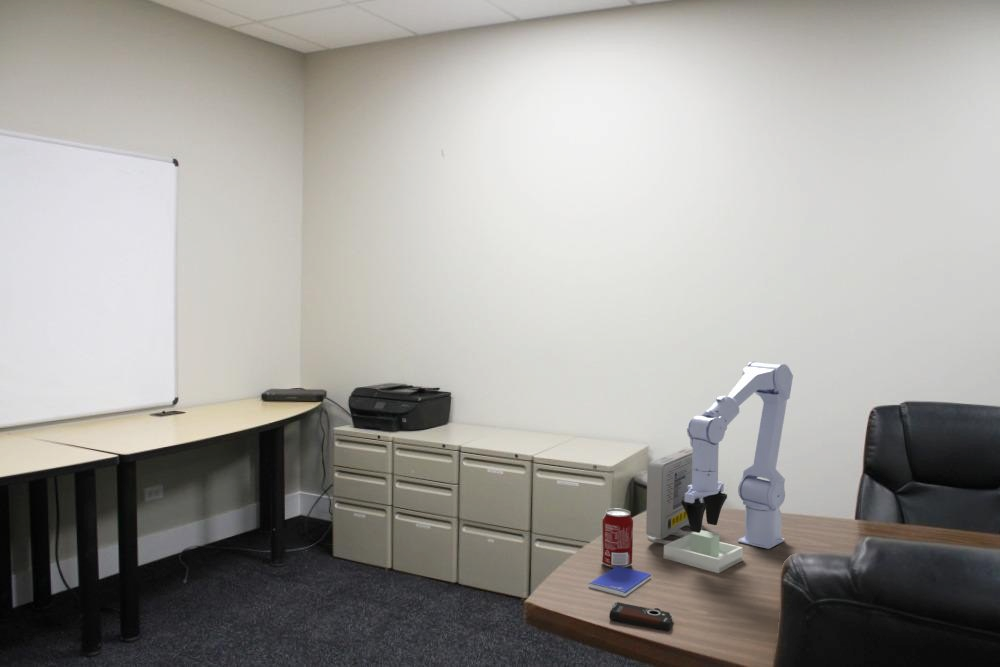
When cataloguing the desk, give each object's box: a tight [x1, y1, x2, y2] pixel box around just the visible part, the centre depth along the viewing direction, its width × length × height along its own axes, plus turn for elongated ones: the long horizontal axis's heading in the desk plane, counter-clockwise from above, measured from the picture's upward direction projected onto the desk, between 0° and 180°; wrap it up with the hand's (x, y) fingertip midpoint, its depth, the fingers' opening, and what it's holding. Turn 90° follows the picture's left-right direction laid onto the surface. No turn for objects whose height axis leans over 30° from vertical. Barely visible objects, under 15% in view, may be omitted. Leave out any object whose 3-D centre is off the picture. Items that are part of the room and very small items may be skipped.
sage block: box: [690, 529, 720, 558], centre depth 175 cm, size 4×5×5 cm
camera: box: [608, 601, 674, 632], centre depth 142 cm, size 6×3×11 cm
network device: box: [645, 447, 703, 545], centre depth 194 cm, size 26×9×20 cm, turn 144°
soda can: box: [601, 508, 634, 569], centre depth 171 cm, size 7×7×12 cm
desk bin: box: [663, 534, 744, 574], centre depth 175 cm, size 12×14×3 cm
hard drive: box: [588, 566, 652, 597], centre depth 161 cm, size 2×8×12 cm
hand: (703, 527), depth 175 cm, fingers open, 7 cm apart
